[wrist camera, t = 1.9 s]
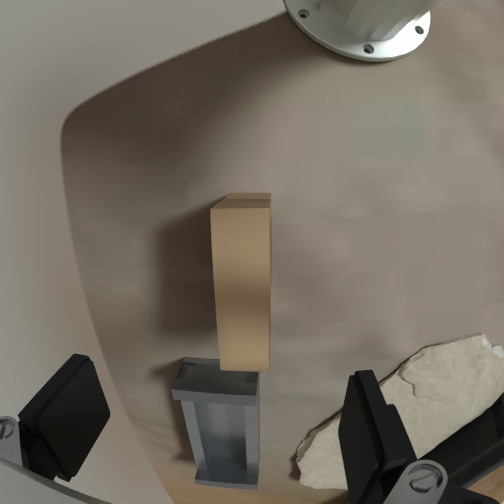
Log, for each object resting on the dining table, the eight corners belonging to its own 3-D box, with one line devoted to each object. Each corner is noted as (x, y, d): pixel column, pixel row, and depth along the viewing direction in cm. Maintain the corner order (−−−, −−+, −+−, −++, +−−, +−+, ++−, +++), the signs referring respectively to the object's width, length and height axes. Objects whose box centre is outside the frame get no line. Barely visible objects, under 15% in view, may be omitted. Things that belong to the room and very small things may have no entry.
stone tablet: (510, 372, 27) (519, 382, 25) (335, 490, 34) (336, 502, 32) (475, 292, 25) (487, 301, 22) (258, 448, 32) (257, 463, 30)
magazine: (546, 410, 18) (366, 587, 17) (549, 418, 18) (380, 585, 18) (464, 366, 35) (330, 510, 34) (471, 375, 35) (343, 514, 35)
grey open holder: (185, 357, 28) (171, 389, 23) (259, 361, 27) (256, 395, 23) (203, 455, 32) (196, 484, 28) (259, 459, 32) (257, 489, 27)
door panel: (230, 193, 23) (209, 208, 16) (271, 192, 23) (270, 208, 16) (234, 312, 26) (219, 370, 19) (271, 313, 26) (269, 371, 18)
